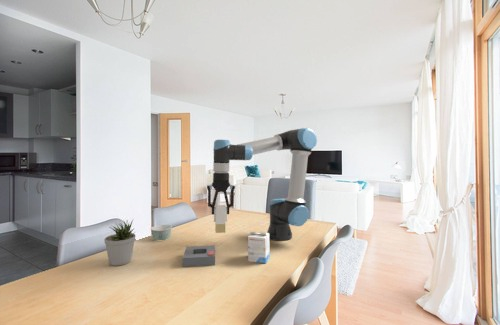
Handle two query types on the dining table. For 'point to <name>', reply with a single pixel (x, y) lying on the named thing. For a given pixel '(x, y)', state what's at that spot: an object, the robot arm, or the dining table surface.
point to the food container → (161, 232)
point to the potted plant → (120, 245)
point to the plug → (220, 218)
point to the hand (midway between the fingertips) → (220, 221)
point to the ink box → (258, 247)
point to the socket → (199, 256)
